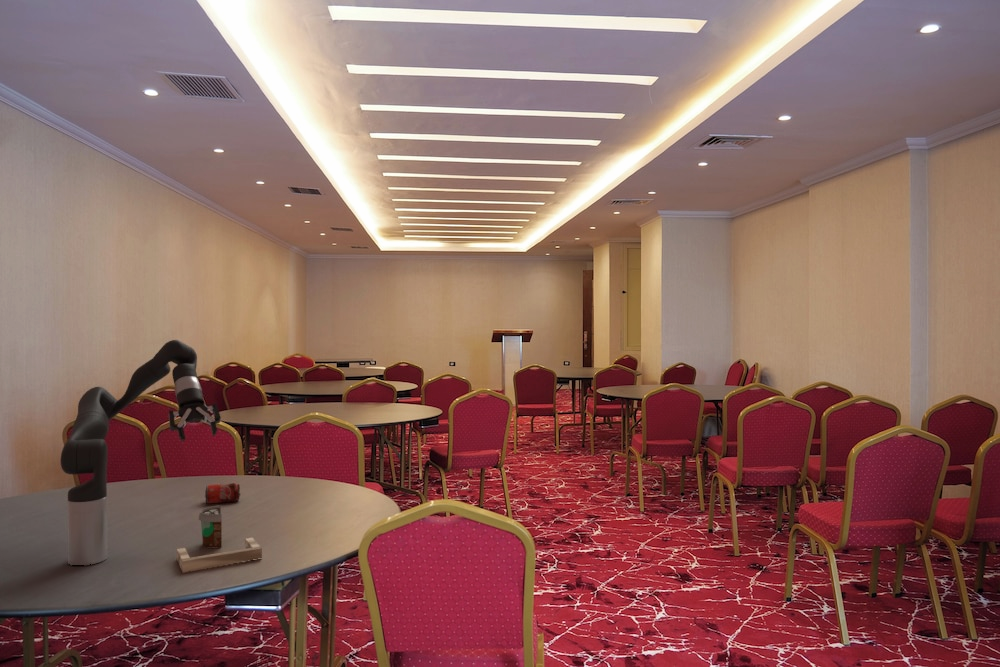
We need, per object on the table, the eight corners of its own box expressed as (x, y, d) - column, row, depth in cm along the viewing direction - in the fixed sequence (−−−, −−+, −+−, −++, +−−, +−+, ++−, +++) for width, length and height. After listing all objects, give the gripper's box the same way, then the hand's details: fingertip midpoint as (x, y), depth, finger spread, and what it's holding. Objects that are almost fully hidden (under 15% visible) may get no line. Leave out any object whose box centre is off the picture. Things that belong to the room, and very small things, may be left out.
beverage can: (240, 503, 253) (240, 485, 253) (204, 505, 249) (204, 487, 249) (241, 498, 260) (240, 481, 260) (206, 501, 256) (206, 483, 256)
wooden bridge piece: (177, 559, 190) (176, 548, 190) (252, 547, 201) (252, 537, 201) (182, 572, 180) (182, 561, 180) (261, 559, 190) (261, 548, 190)
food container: (198, 539, 208) (198, 506, 208) (220, 537, 211) (220, 504, 211) (198, 551, 197) (198, 516, 197) (221, 549, 199) (221, 514, 199)
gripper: (212, 397, 223) (222, 439, 215) (164, 404, 216) (173, 448, 208) (213, 383, 218) (224, 426, 210) (164, 390, 211) (173, 434, 203)
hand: (199, 437), depth 209 cm, fingers open, 8 cm apart
